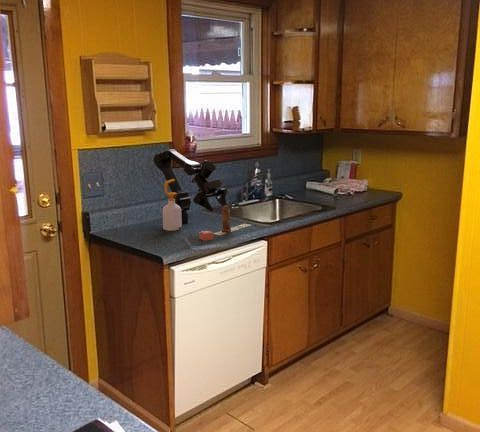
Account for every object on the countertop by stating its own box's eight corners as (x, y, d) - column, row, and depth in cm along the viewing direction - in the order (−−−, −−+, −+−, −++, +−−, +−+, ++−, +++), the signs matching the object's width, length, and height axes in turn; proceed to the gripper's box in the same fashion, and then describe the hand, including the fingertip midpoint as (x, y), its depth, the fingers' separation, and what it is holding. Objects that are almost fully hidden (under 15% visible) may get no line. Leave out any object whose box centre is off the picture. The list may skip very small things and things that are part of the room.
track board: (224, 239, 238) (224, 236, 237) (206, 235, 244) (206, 232, 244) (257, 228, 258) (257, 225, 258) (240, 225, 264) (240, 222, 264)
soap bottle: (183, 230, 255) (182, 180, 249) (165, 231, 251) (163, 181, 246) (179, 225, 263) (177, 177, 257) (161, 227, 260) (159, 178, 254)
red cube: (204, 243, 231) (204, 234, 230) (199, 241, 234) (199, 231, 233) (213, 242, 233) (213, 232, 232) (207, 240, 237) (207, 230, 236)
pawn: (222, 232, 244) (222, 206, 242) (220, 230, 248) (220, 204, 246) (231, 231, 245) (231, 206, 243) (229, 229, 250) (229, 204, 247)
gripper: (196, 175, 241) (213, 202, 236) (225, 171, 254) (241, 196, 249) (185, 190, 248) (202, 216, 243) (214, 186, 261) (230, 210, 256)
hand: (219, 209), depth 248 cm, fingers open, 9 cm apart
